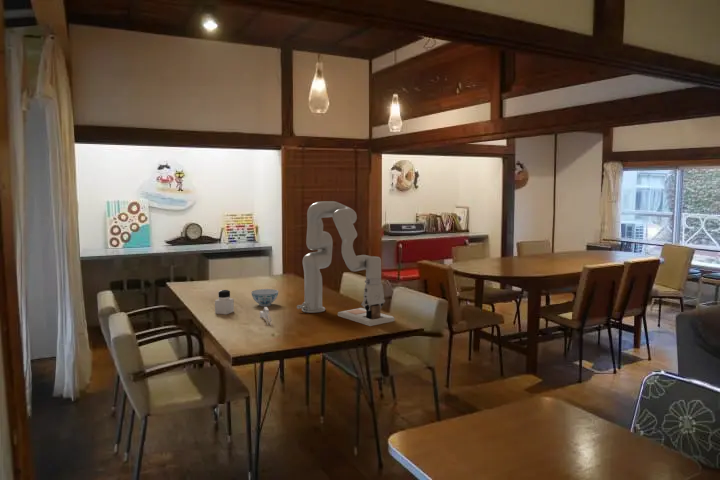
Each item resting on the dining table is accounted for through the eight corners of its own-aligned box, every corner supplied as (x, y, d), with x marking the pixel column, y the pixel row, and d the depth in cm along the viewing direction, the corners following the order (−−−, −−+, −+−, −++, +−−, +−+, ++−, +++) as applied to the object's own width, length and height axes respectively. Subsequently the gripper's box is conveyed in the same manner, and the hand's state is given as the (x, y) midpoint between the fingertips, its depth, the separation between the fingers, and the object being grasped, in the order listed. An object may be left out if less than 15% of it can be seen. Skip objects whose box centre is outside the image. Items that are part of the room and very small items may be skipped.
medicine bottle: (234, 311, 286) (233, 289, 285) (226, 314, 279) (226, 292, 278) (222, 310, 289) (222, 288, 287) (214, 313, 282) (214, 291, 281)
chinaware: (272, 308, 294) (272, 294, 293) (247, 307, 297) (247, 293, 296) (282, 302, 308) (282, 289, 308) (257, 301, 311) (257, 288, 311)
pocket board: (370, 326, 258) (370, 321, 257) (337, 315, 278) (337, 311, 278) (394, 320, 268) (394, 316, 268) (361, 311, 288) (361, 307, 288)
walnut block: (372, 322, 265) (372, 306, 264) (366, 320, 268) (366, 304, 268) (380, 320, 268) (380, 305, 267) (373, 319, 272) (373, 303, 271)
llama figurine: (270, 336, 262) (262, 315, 276) (272, 317, 256) (264, 296, 271) (266, 337, 261) (258, 315, 275) (268, 318, 256) (260, 297, 270)
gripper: (365, 284, 258) (365, 321, 260) (391, 280, 269) (390, 316, 270) (355, 282, 264) (355, 318, 265) (381, 278, 274) (381, 313, 276)
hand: (373, 316), depth 268 cm, fingers closed on walnut block, 5 cm apart
